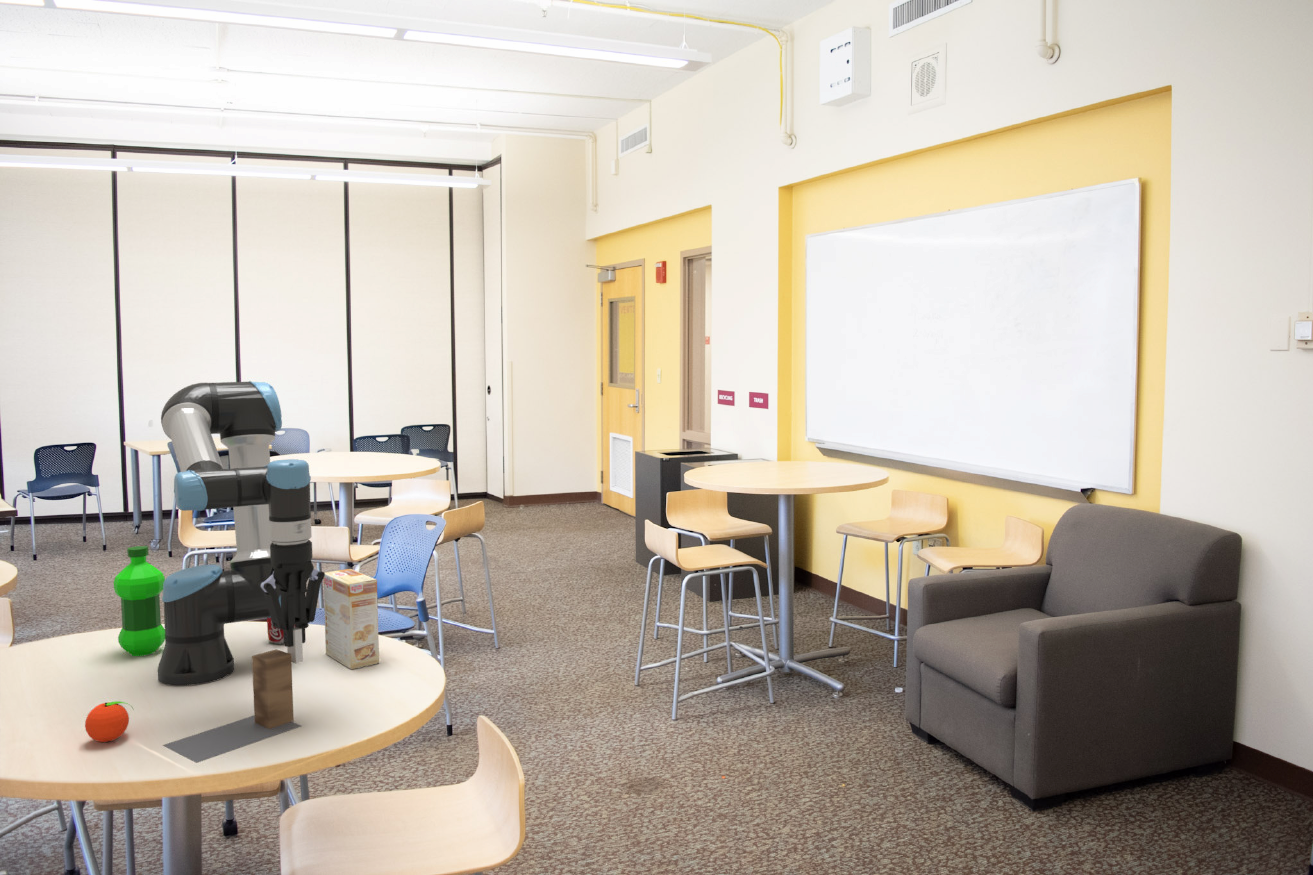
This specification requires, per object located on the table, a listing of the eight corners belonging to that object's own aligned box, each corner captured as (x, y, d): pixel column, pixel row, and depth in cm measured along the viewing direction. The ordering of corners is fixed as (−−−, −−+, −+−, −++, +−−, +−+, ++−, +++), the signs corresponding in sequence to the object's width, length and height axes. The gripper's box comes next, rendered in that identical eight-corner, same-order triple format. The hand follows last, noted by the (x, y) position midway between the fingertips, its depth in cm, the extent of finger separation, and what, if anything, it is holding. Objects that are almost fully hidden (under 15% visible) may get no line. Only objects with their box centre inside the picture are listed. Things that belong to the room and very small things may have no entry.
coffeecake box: (380, 663, 215) (378, 579, 213) (350, 670, 210) (347, 584, 208) (354, 647, 226) (351, 567, 224) (324, 654, 222) (321, 572, 220)
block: (254, 722, 180) (252, 655, 178) (279, 714, 184) (276, 649, 182) (269, 728, 177) (266, 661, 175) (293, 720, 181) (291, 654, 179)
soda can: (261, 644, 229) (259, 595, 228) (278, 635, 236) (276, 588, 235) (288, 645, 228) (287, 597, 227) (304, 637, 235) (302, 589, 233)
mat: (162, 747, 170) (162, 745, 170) (266, 713, 185) (266, 711, 185) (196, 764, 162) (196, 762, 162) (301, 727, 178) (301, 725, 178)
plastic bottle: (159, 643, 230) (154, 541, 228) (172, 653, 222) (167, 548, 220) (113, 651, 223) (107, 547, 221) (125, 662, 215) (119, 554, 213)
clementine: (129, 728, 178) (127, 691, 178) (141, 738, 173) (139, 700, 173) (80, 740, 173) (78, 702, 172) (92, 751, 168) (90, 712, 167)
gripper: (270, 549, 173) (275, 674, 176) (332, 537, 184) (336, 656, 186) (248, 544, 178) (253, 666, 180) (309, 533, 188) (313, 649, 191)
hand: (295, 661), depth 183 cm, fingers closed
